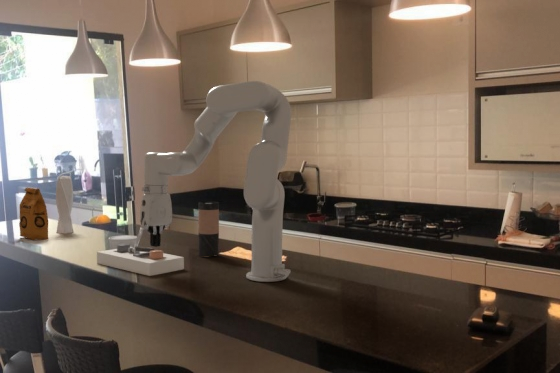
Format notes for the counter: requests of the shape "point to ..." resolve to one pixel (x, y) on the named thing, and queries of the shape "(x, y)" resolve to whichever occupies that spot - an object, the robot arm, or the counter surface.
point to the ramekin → (121, 241)
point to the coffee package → (33, 215)
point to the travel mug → (208, 228)
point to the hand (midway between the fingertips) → (155, 245)
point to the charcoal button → (123, 248)
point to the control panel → (140, 262)
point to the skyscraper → (64, 203)
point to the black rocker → (143, 249)
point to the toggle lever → (137, 240)
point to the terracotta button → (156, 254)
